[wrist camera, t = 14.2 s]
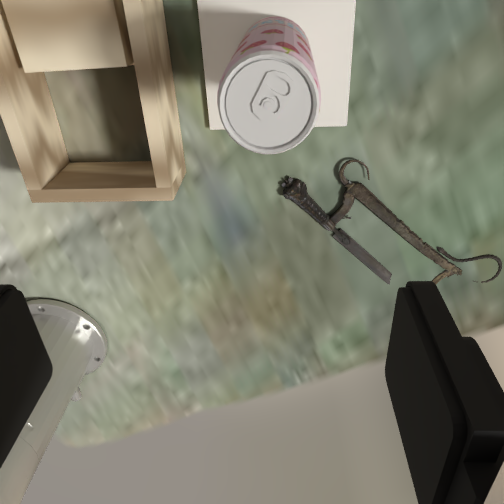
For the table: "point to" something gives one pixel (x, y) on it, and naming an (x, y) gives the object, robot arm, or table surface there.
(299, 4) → the pad
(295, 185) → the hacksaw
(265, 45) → the beverage can
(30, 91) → the frame
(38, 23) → the offcut upper
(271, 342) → the table surface
